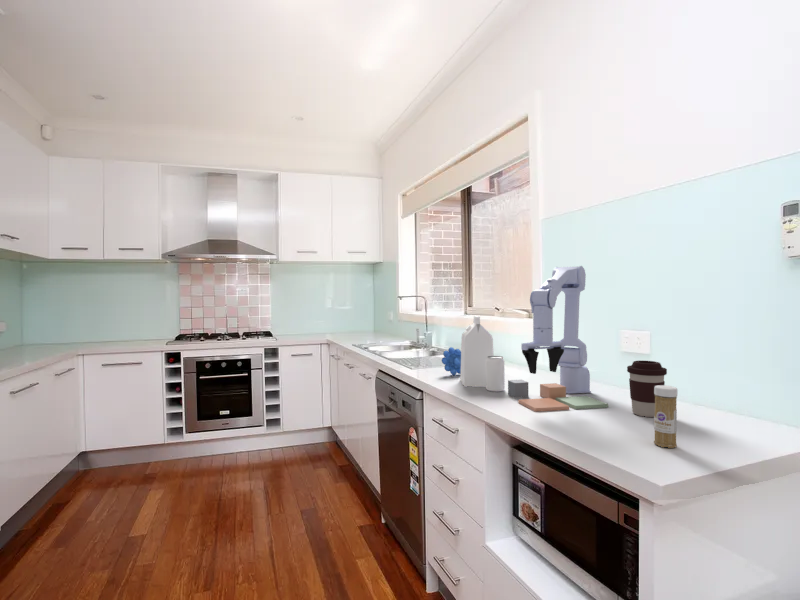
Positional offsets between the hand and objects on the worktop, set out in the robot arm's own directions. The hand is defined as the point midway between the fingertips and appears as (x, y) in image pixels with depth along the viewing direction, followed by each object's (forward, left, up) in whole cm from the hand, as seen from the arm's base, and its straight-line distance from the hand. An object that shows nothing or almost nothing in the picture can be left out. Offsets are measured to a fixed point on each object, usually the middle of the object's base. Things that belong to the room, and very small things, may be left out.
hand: (542, 372), depth 140 cm
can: (+5, -25, -11) cm, 28 cm away
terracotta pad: (0, 0, -10) cm, 10 cm away
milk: (+7, -38, -11) cm, 40 cm away
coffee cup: (-24, +15, -11) cm, 30 cm away
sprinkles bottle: (-9, +39, -11) cm, 41 cm away
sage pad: (-13, 0, -10) cm, 17 cm away
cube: (+1, -15, -10) cm, 18 cm away
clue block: (-9, -10, -10) cm, 17 cm away
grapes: (+10, -56, -11) cm, 58 cm away
